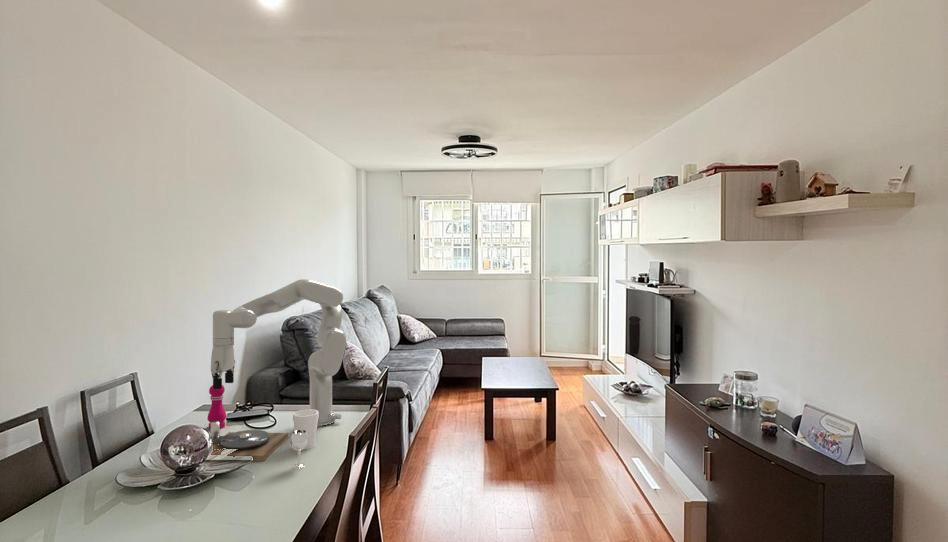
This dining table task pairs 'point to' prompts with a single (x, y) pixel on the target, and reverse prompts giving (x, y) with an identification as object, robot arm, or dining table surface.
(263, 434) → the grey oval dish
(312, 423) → the foam cup
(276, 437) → the brown flat board
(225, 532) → the dining table surface
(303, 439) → the wineglass
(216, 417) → the pepper mill
